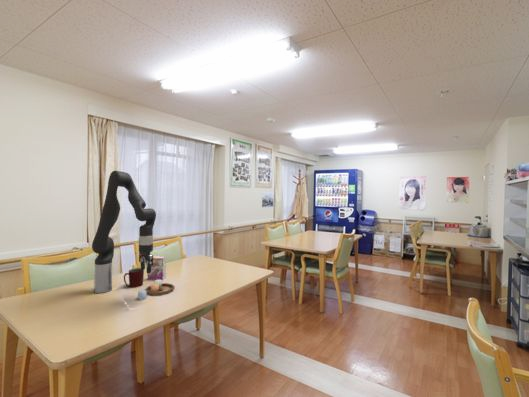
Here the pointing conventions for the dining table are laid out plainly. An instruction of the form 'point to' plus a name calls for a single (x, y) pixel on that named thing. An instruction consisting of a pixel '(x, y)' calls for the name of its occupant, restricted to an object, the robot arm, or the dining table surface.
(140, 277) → the mug
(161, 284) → the bead sage
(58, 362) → the dining table surface
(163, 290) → the groove tray
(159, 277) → the candy bar box
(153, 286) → the bead terracotta
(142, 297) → the bead blue
